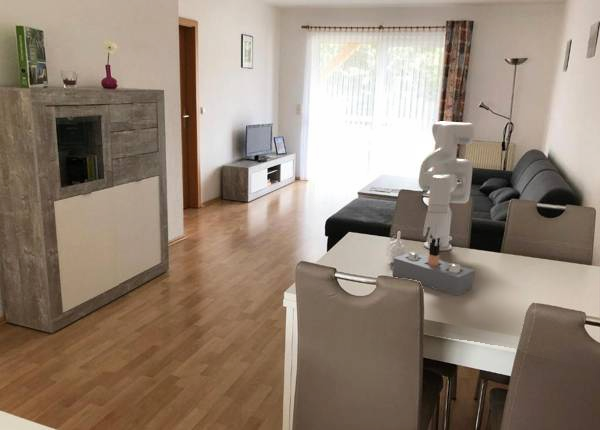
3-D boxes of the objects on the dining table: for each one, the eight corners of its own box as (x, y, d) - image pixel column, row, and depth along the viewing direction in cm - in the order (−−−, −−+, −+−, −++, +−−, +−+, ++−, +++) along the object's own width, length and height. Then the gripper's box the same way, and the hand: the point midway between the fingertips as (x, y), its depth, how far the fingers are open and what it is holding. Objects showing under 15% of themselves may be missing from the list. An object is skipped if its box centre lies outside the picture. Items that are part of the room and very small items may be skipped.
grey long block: (409, 267, 209) (411, 251, 208) (472, 287, 190) (474, 270, 188) (392, 274, 201) (393, 258, 199) (456, 295, 182) (458, 277, 180)
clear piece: (450, 282, 192) (452, 262, 190) (460, 285, 189) (462, 265, 187) (445, 285, 189) (447, 265, 187) (454, 288, 186) (457, 267, 184)
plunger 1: (410, 269, 204) (412, 251, 202) (419, 272, 202) (420, 253, 200) (404, 272, 202) (406, 253, 200) (413, 274, 199) (415, 255, 197)
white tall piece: (403, 260, 218) (405, 229, 215) (404, 265, 212) (407, 233, 209) (386, 259, 219) (388, 228, 215) (387, 264, 213) (389, 232, 209)
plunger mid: (430, 271, 198) (432, 252, 196) (439, 274, 195) (441, 254, 193) (424, 274, 195) (426, 254, 193) (433, 276, 192) (435, 257, 190)
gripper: (440, 203, 196) (435, 248, 200) (418, 209, 186) (414, 256, 190) (457, 207, 191) (452, 253, 195) (436, 212, 181) (432, 261, 185)
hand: (433, 254), depth 193 cm, fingers closed
